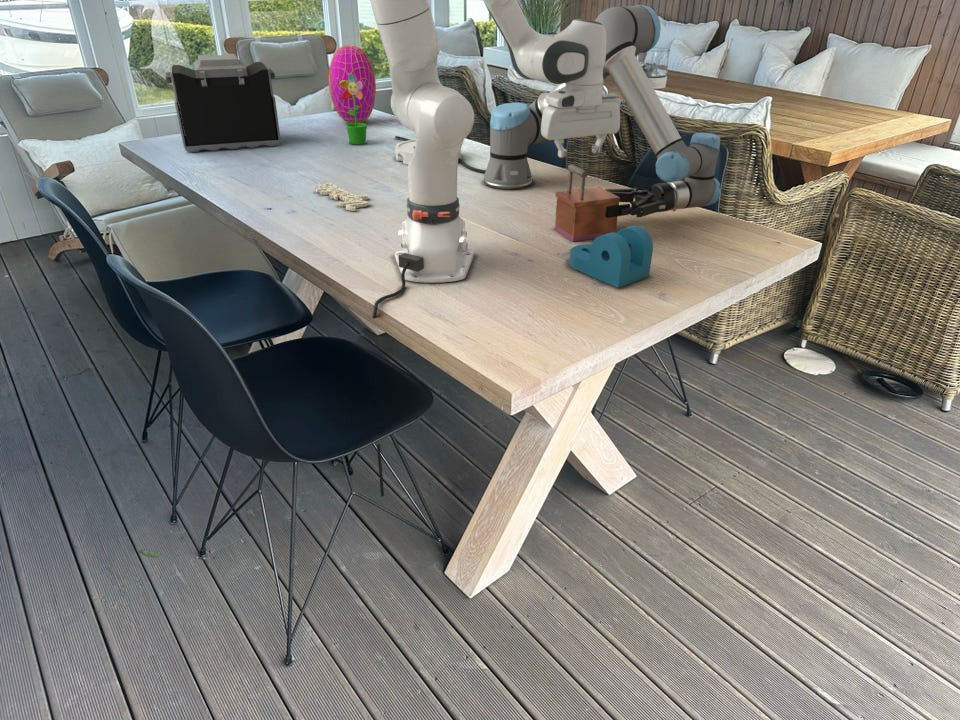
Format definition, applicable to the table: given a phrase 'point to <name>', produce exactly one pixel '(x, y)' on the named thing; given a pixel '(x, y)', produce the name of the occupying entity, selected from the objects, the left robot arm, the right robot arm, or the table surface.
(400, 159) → the ashtray
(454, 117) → the left robot arm
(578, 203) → the lid
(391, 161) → the table surface
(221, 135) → the electronic device
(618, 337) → the table surface
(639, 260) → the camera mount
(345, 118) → the decorative egg
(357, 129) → the potted flower
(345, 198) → the decorative sign
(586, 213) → the chest
